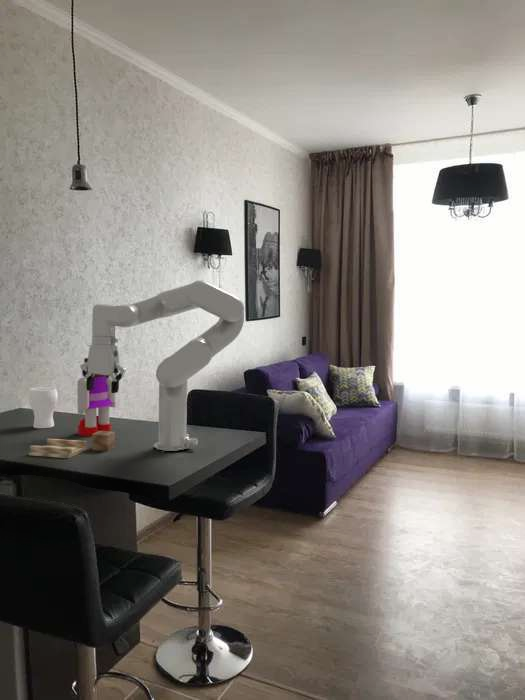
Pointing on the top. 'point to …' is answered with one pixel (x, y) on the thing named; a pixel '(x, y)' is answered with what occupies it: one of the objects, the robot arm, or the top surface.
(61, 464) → the top surface
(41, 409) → the cup
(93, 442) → the walnut block
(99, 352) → the robot arm
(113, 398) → the toy
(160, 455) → the top surface
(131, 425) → the top surface
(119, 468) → the top surface
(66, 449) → the board
